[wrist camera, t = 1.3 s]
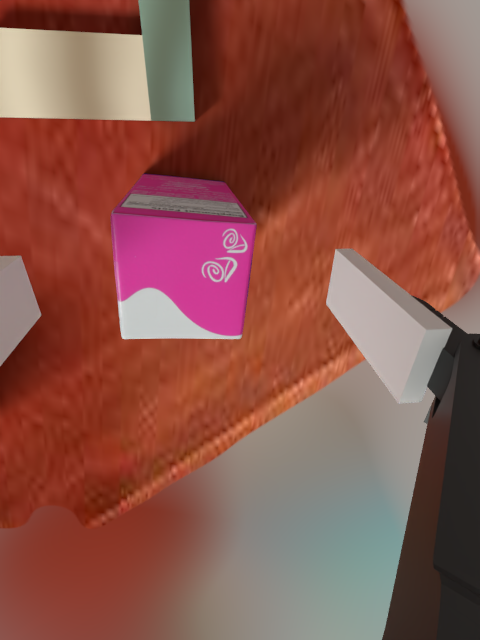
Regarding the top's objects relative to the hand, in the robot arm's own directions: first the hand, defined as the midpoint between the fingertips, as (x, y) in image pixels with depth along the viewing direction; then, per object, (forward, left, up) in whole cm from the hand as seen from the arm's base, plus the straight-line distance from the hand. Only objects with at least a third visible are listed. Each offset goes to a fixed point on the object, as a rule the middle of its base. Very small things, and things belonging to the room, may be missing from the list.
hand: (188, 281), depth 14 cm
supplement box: (0, 0, -11) cm, 11 cm away
